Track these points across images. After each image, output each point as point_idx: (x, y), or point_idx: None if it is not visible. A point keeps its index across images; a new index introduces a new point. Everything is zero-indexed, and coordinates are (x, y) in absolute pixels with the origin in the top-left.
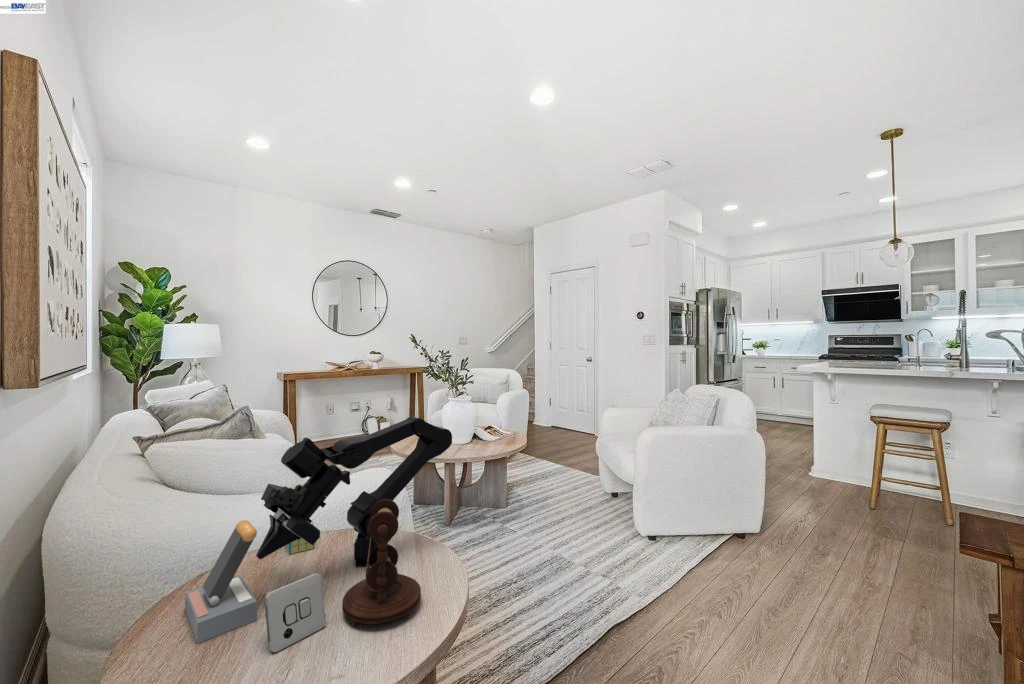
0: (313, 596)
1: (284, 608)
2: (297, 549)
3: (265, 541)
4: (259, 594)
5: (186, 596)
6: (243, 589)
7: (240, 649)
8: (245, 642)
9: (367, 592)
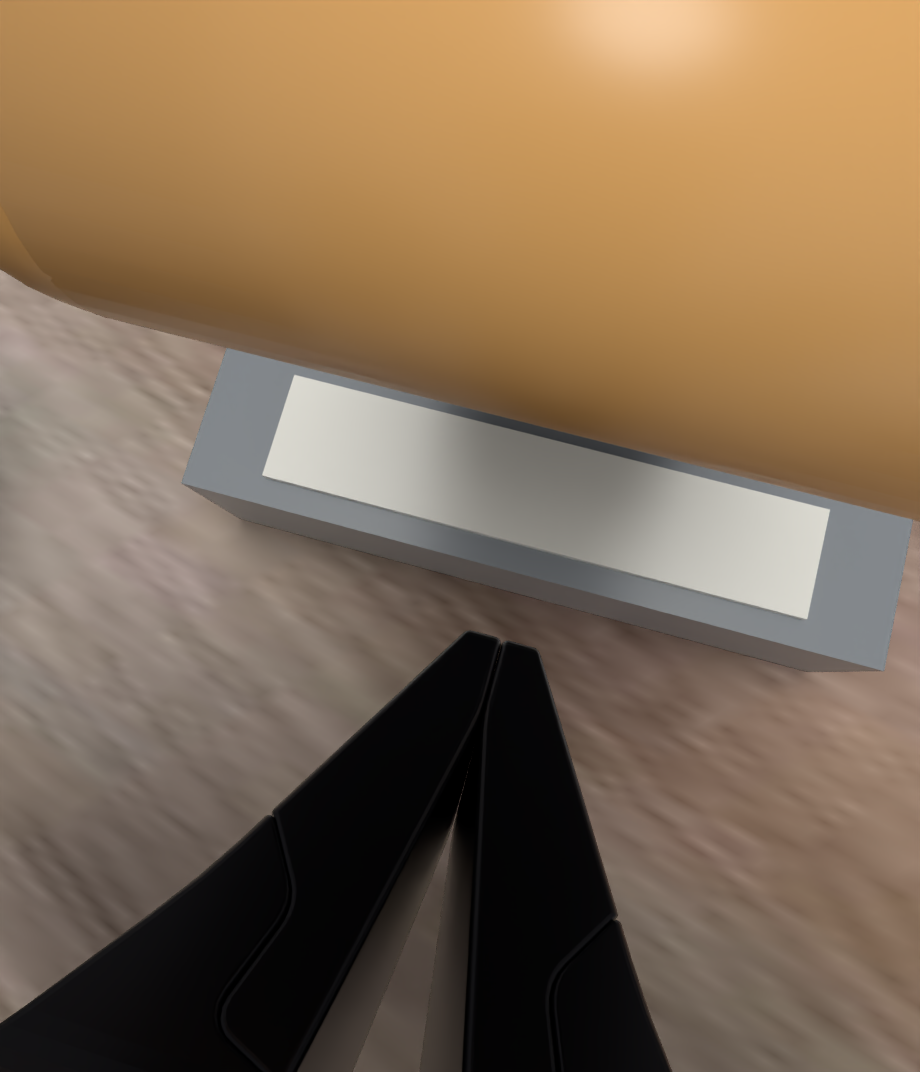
0: None
1: None
2: None
3: (481, 833)
4: (589, 744)
5: None
6: (489, 512)
7: (36, 292)
8: (72, 344)
9: None
